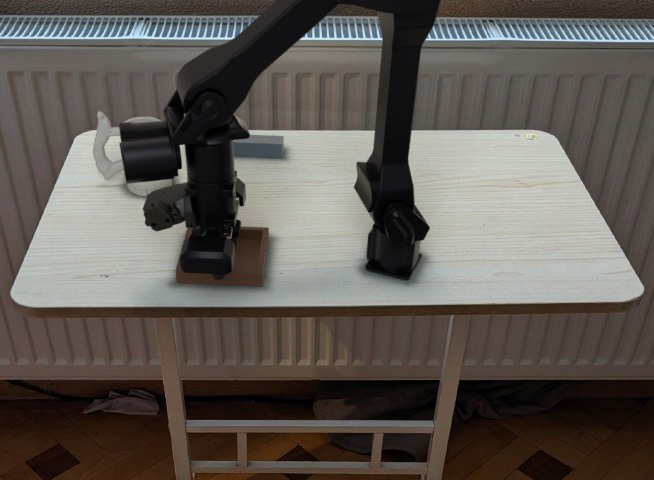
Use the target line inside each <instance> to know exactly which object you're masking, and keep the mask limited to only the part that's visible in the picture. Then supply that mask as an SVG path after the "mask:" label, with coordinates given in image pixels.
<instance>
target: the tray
mask: <svg viewBox="0 0 654 480" xmlns="http://www.w3.org/2000/svg"><path fill="white" fill-rule="evenodd" d="M189 236H197V234H196V233H195V232H194V231H193V228H186V231H185V235H184V239H183V242H184V241H185V240H186V239H187V238H188V237H189ZM269 242H270V227H267V226H265V227H264V226H243V225H241V227H240V233H239V235H238V244H237V249H236V252H235V257H234V265H233V270H232V272H231V273H229V274H225V275H224V278H223V280H215V279H214V277H213V275H212V274H203V273H184V272H183V271H182V270H181V267H180V258H179V257H180V255H179V257H178V261H177V264H176V267H175V278H176V279H175V280H176V284H184V285H206V286H208V285H209V286H228V287H229V286H232V287H233V286H234V287H252V288H253V287H255V288H256V287H257V288H262V287H263V285H264V278H265V272H266V271H265V270H266V266H267V265H266V264H267V258H268V250H269V244H270V243H269Z"/></svg>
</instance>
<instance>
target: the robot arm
mask: <svg viewBox="0 0 654 480" xmlns="http://www.w3.org/2000/svg"><path fill="white" fill-rule="evenodd" d="M441 2H442V0H275V1H274V2H273V3H272V4H271V5H269V6H268V7H267V8H266V9H265V10H264V11H263V12H262V13H260V15H259V16H257V17H256V18H255V19H254V20H253V21H251V23H249V25H247V26H246V27H245V28H244V29H243V30H242V31H240V33H239V34H237V35H236V36H235V37H233V38H232V39H230V40H228V41H227V42H225V43H222V44H219V45H216V46H213V47H210V48H208V49H206V50H205V51H203V52H202V53H200V54H198V55H197V56H195V57H194V58H192V59H190V60H189V61H187V62H186V63H185V64H183V66H182V67H181V68H180V69H179V71H178V73H177V75H176V78H177V79H176V89H175V90H174V92H173V94H172V95H171V97H170V99H169V100H168V102H167V103H166V105H165V106H164V107H163V110H162V115H163V119H164V120H161V121H154V122H143V123H133V122H125V121H124V122H125V123H123V122H120V123H119V124H118V127H119V130H120V136H119V139H120V142H119V150H120V156H121V159H122V163H123V169H124V170H123V176H124V175H125V180H126V182H125V184H126V185H127V184H131V183H140V182H149V181H158V180H167V179H173V180H174V179H175V178H176V177H179V170H183V162H182V153H181V152H182V151H181V146H184V154H185V155H184V156H185V164H186V175H187V176H186V180H187V181H186V182H182V183H181V182H180V183H175V184H172V185H171V186H168V187H164V188H161V189H158V190H155V191H152V192H151V193H149V194H148V195H147V196H146V198H145V200H144V204H143V207H142V211H143V217H144V219H145V220H144V225H145V226H146V227H150V228H151V230H152V231H154V232H161V231H164V230H167V229H171V228H173V226H176V225H179V224H182V223H185V228H186V229H187V228H193V231H194V232H195V233H196V234H197V236H189V237H188V238H187V239H186V240H185V241H184V240H183V243H182V245H181V250H180V252H179V253H180V254H179V256H180V257H178V259H179V258H180V267H181V270H182V271H183V272H184V273H203V274H212V275H213V277H214V279H215V280H223V278H224V275H225V274H229V273H231V272H232V270H233V265H234V257H235V252H236V249H237V244H238V235H239V233H240V227H241V226H242V221H241V220H240V219H237V218H238V213H239V208H240V207H245V203H246V198H247V190H246V189H247V188H246V184H245V182H243V180H241V179H240V178H239V177H238V170H236V169H235V156H234V149H233V140H239V139H248V138H249V137H250V135H251V133H250V131H249V129H248V126H247V124H246V122H245V120H243V119H241V118H240V117H238V116H237V115H236V114H235V113H236V112H237V111H238V110H239V108H241V106H242V105H243V103H245V101H246V99H247V98H248V96H249V94H250V92H251V90H252V88H253V86H254V84H255V82H256V81H257V80H258V78H259V77H260V76H261V75H262V74H263V73H264V72H265V71H266V70H267V69H268V68H269V67H270V66H272V65H273V64H274V63H275V62H276V61H278V59H280V58H281V57H282V56H283V55H285V53H287V52H288V51H289V50H290V49H291V48H292V47H294V45H296V44H297V43H298V42H299V41H301V39H302V38H303V37H305V36H306V35H307V34H308V33H309V32H311V31H312V30H313V29H314V28H315V27H316V26H317V25H318V24H319V23H321V22H322V21H323V20H324V19H326V17H328V16H329V15H330V14H331V13H332V12H333V11H334V10H336V9H337V8H338V7H339V6H340V5H347V6H356V7H360V8H362V9H368V10H371V11H375V12H376V14H377V19H378V23H379V28H380V32H381V39H382V42H381V53H380V64H379V66H380V67H379V76H378V77H379V78H378V89H377V100H376V101H377V102H376V113H375V126H374V136H373V148H372V152H371V154H370V156H369V158H368V159H367V161H357V162H356V165H355V166H356V167H355V169H356V180H355V183H354V185H353V189H354V190H355V192H356V194H357V196H358V197H359V200H360V201H361V203H362V204H363V206H364V208H365V209H366V212H367V213H368V215H369V216H370V218H371V219H372V221H373V224H372V225H371V226H372V227H371V229H370V230H369V232H368V234H367V241H366V253H365V254H366V255H365V258H366V259H367V260H368V261H367V263H366V264H365V266H364V269H365V271H368V272H372V273H376V274H380V275H383V276H387V277H391V278H395V279H399V280H403V281H410V279H411V278H412V276H413V274H414V272H415V270H416V269H417V267H418V266H419V264H420V262H421V260H422V257H423V254H421V253H420V251H421V250H420V249H421V242H423V241H424V240H425V239H426V237H427V235H428V233H429V231H430V229H431V227H430V225H429V223H428V222H427V220H426V219H425V217H424V216H423V214H422V213H421V211H420V210H419V209H418V207H417V205H416V201H415V186H414V181H413V177H412V171H411V167H410V163H409V161H410V160H409V158H410V149H411V139H412V130H413V124H414V123H413V122H414V115H415V114H414V113H415V105H416V98H417V97H416V96H417V89H418V82H419V81H418V79H419V71H420V64H421V63H420V62H421V53H422V49H423V45H424V43H425V41H426V40H427V39H428V37H429V35H430V33H431V32H432V30H433V28H434V26H435V24H436V20H437V16H438V12H439V10H440V5H441ZM125 180H124V181H125Z"/></svg>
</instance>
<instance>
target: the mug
mask: <svg viewBox="0 0 654 480" xmlns="http://www.w3.org/2000/svg"><path fill="white" fill-rule="evenodd" d="M96 117H97V126H96V131H95V132H96V133H95V136H94V142H93V148H92V155H93V158H94V161H95V166H96V169H97V171H98V172H99V174H101V175H102V177H103V178H104V180H106V181H110V180H111V179H112V178H113V176H114V175H116V174H117V173H120V172H124V169H123V163H122V158H121V159H118V160H115V161H112V160H111V159H110V158H109V157H107V154H106V148H105V146H106V144H107V143H108V140H109V139H110V137H120V130H119V126H112V124H111V122H110V120H109V118H108V117H107V115H105V113H104V112H102V111H100V110H98V111H97V115H96ZM154 121H162V120H161V119H158V118H156V117H153V116H136V117H132V118H129V119H126V120H125V121H123V122H122V123H125V122H133V123H143V122H154ZM123 180H124V182H125V183H126V180H125V175H124V174H123ZM173 180H174V179H167V180H158V181H149V182H140V183H131V184H126V187H127V190H128V191H129V192H130V193H133V194H134V195H138V196H140V197H141V196H142V197H147V196H148V194H149V193H151V192H152V191H155V190H158V189H161V188H164V187H168V186H171V185H173Z"/></svg>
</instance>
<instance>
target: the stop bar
mask: <svg viewBox="0 0 654 480" xmlns="http://www.w3.org/2000/svg"><path fill="white" fill-rule="evenodd" d="M284 139H285V136H284V135H267V134H266V135H265V134H250V137H249V138H248V139H239V140H233V149H234V157H244V158H245V157H247V158H271V159H272V158H273V159H276V158H277V159H283V158H284V150H285V143H284V142H285V141H284Z"/></svg>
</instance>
